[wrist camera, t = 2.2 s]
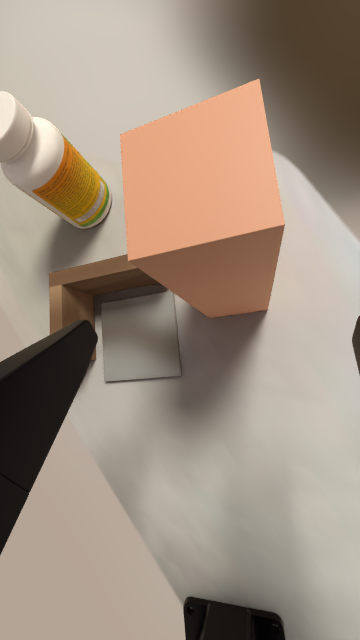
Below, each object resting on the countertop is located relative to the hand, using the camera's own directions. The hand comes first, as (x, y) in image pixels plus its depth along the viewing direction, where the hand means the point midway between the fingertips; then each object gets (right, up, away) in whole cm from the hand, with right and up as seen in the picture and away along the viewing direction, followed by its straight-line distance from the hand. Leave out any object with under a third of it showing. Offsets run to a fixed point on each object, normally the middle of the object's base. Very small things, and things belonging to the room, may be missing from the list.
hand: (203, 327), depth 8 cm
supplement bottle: (-10, +12, +17) cm, 23 cm away
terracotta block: (+3, +3, +11) cm, 12 cm away
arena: (-6, 0, +13) cm, 15 cm away
